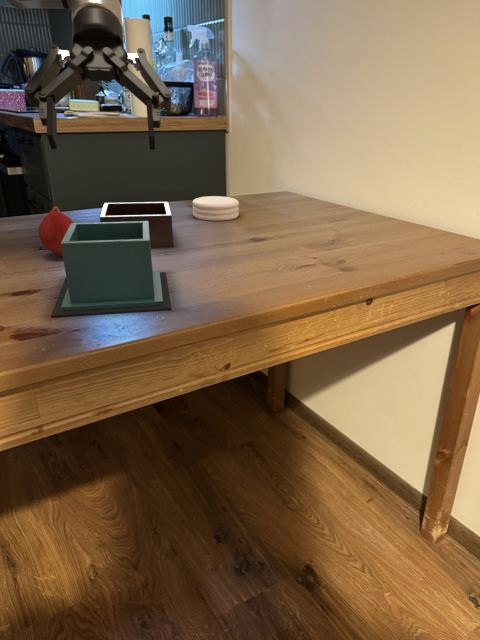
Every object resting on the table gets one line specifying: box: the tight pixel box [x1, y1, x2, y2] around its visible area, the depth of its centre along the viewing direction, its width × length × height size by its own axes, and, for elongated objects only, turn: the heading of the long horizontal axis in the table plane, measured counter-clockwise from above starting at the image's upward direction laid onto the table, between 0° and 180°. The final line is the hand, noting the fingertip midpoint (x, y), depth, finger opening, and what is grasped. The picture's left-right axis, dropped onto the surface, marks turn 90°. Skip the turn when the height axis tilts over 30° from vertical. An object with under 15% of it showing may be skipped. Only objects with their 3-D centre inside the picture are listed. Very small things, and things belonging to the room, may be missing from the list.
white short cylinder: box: [192, 195, 240, 222], centre depth 108 cm, size 10×10×4 cm
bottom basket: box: [99, 201, 174, 249], centre depth 89 cm, size 12×12×6 cm
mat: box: [50, 271, 172, 319], centre depth 66 cm, size 14×14×1 cm
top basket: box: [61, 221, 163, 311], centre depth 64 cm, size 12×12×8 cm
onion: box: [38, 206, 75, 258], centre depth 78 cm, size 6×6×8 cm
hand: (102, 143), depth 70 cm, fingers open, 13 cm apart
